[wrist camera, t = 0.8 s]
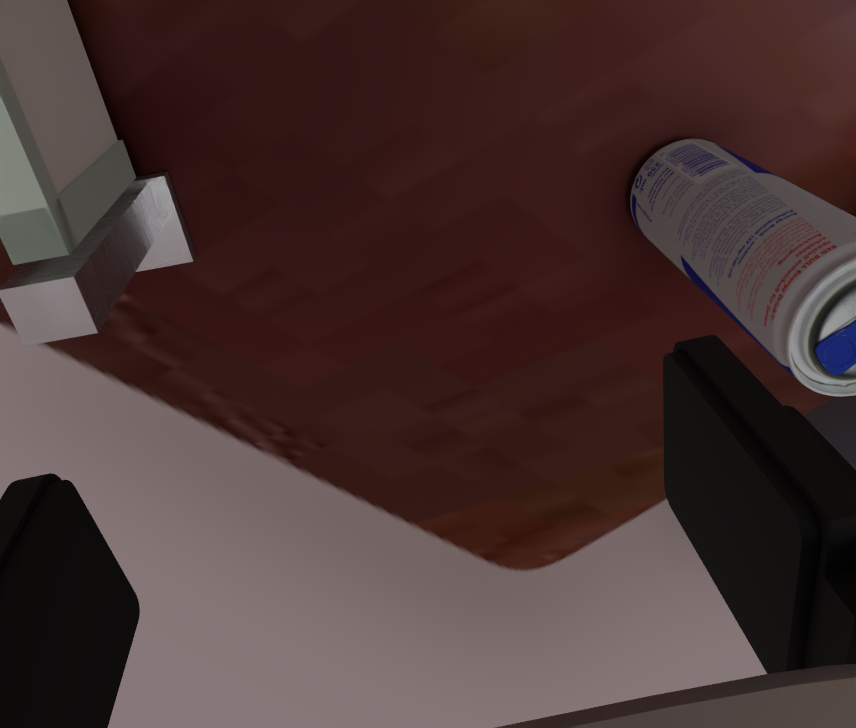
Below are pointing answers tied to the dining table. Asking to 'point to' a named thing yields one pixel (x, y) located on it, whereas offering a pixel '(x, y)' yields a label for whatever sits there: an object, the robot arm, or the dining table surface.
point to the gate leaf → (52, 135)
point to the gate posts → (99, 265)
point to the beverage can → (758, 255)
